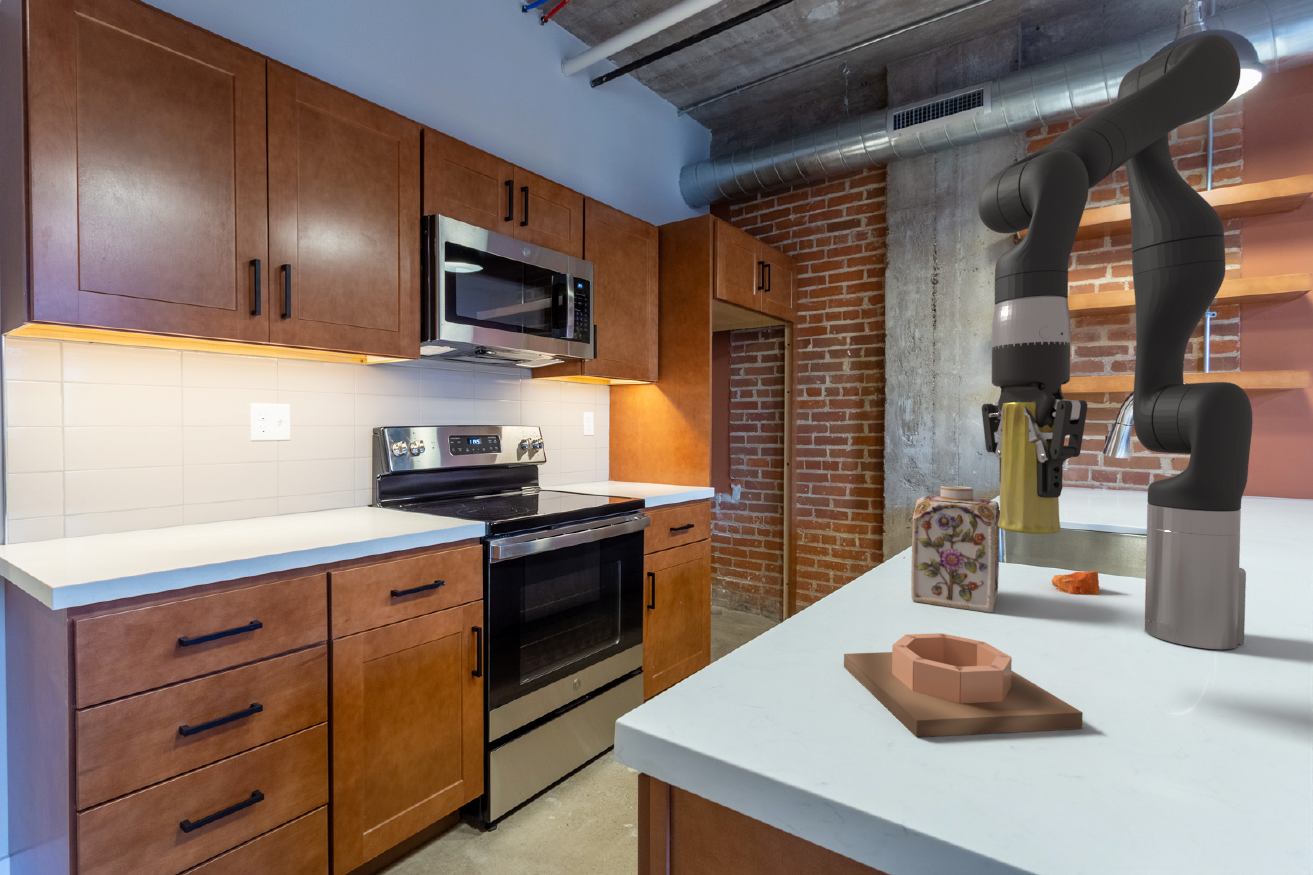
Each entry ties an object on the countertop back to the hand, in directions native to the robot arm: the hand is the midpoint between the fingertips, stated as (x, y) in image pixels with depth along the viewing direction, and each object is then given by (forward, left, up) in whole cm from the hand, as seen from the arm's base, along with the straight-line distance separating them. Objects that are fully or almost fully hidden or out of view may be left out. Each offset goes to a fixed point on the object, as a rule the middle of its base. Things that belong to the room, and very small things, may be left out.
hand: (1028, 493), depth 70 cm
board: (+12, +5, -20) cm, 24 cm away
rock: (-32, -31, -21) cm, 49 cm away
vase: (0, 0, -4) cm, 4 cm away
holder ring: (+12, +5, -19) cm, 23 cm away
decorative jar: (-9, -28, -20) cm, 36 cm away
